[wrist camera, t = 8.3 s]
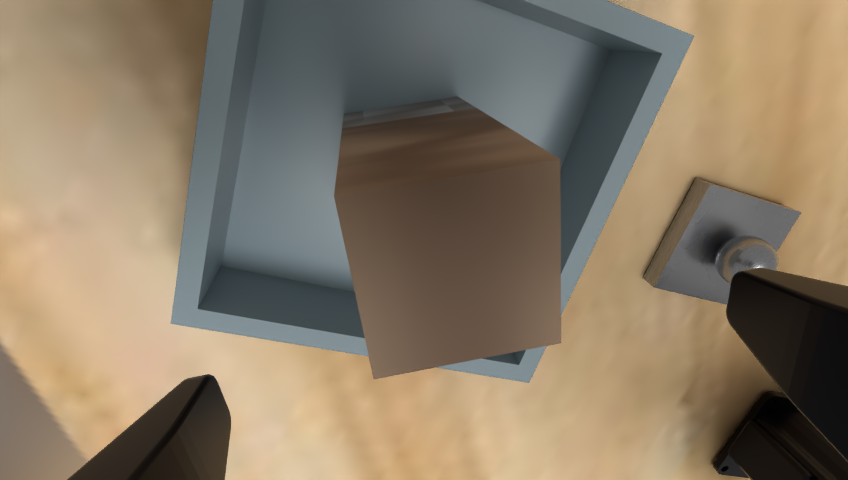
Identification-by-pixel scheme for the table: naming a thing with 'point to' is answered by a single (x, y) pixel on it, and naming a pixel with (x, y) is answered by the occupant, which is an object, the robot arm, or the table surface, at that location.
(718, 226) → the knob on square plate
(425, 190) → the strut
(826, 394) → the robot arm
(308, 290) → the bin
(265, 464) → the table surface
